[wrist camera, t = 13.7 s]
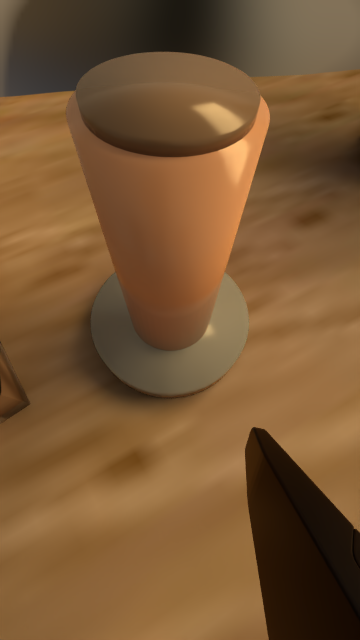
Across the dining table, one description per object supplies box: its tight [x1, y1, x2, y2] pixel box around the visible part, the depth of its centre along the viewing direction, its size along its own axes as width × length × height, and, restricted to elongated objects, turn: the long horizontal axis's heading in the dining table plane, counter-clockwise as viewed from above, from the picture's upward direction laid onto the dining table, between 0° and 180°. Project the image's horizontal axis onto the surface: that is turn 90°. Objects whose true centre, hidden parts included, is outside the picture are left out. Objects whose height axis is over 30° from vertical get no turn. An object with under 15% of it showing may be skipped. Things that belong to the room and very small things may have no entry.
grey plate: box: [90, 272, 249, 398], centre depth 20 cm, size 12×12×2 cm
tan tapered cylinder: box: [66, 52, 270, 351], centre depth 13 cm, size 6×6×13 cm
